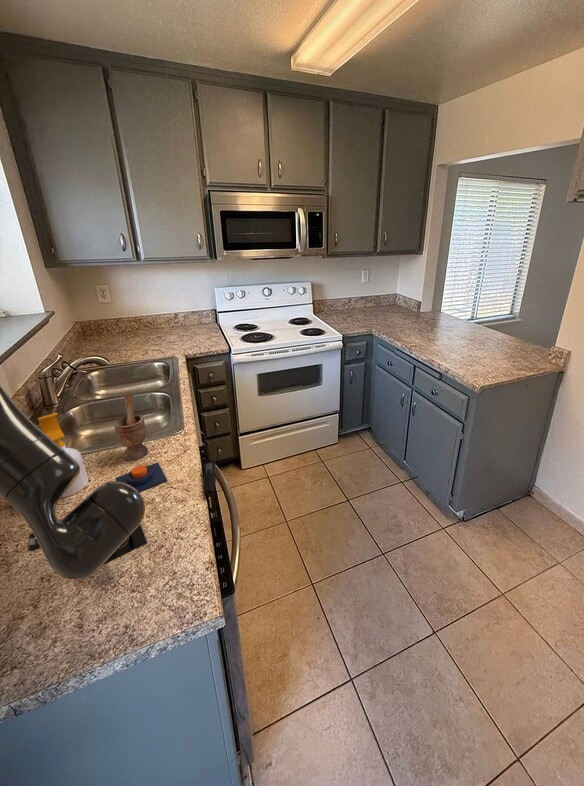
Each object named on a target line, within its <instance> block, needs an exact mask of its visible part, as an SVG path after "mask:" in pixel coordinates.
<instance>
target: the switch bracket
mask: <svg viewBox="0 0 584 786" xmlns="http://www.w3.org/2000/svg"><path fill="white" fill-rule="evenodd" d="M147 544H148V541H147V538H146V536H145V533H144V530H143V527H142V524H140V525H139V526H138V527H137V528H136V529H135V530H134V531H133V533H132V534H131V535H130V536H129V540H128V542H127V544H126V545H125V546H124V547H122V548H118V549H117V550H116V551H115V552H114V553H113V554H112V555H111V556H110V557H109V558H108V559H107V560H106V561H105V563H104V564H103V565H102V566H104V565H106V564H108V563H110V562H112V561H115V560H117V559H119V558H121V557H122V556H125V555H127V554H129V553H131V552H133V551H136V550H137V549H139V548H141V547H144V546H145V545H147Z"/></svg>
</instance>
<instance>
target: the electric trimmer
mask: <svg viewBox="0 0 584 786" xmlns="http://www.w3.org/2000/svg"><path fill="white" fill-rule="evenodd" d="M216 465H217V463H216V461H215V460H214V459H212V458H209V459H206V460H205V461H204V463H203V481H202V482H203V489H204V490H203V491H204V495H211V494H214V493H215V489H216V482H217V478H216V471H215V469H216V468H215V467H216Z"/></svg>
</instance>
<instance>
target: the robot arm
mask: <svg viewBox="0 0 584 786" xmlns="http://www.w3.org/2000/svg"><path fill="white" fill-rule="evenodd" d="M79 473H80V466H79V464H78V463H77V462H76V461H75V460H74V459H73V458H72V457H71V456H70V455H69V454H68V453H66V452H65V451H64V450H63V449H62V448H61V447H60V446H59V445H57V444H56V443H55V442H54V441H53V440H52V439H51V438H49V437H48V436H47V435H46V434H45V433H44V432H43V431H42V430H41V428H40V427H38V426H37V425H36V424H35V423H34V422H33V421H32V420H31V419H30V418H29V417H28V416H27V415H26V414H25V413H24V412H23V411H22V409H20V408H19V407H18V405H17V404H16V402H14V401H13V399H12V398H11V397H10V395H9V394H8V393H7V392H6V391H5V389H4V388H3V387H2V385H1V384H0V497H1V498H3V499H4V500H5V501H6V502H7V503H8V504H9V505H11V506H12V507H13V509H14V510H15V511H16V512H17V513H18V514H19V515H20V516H21V518H23V520H24V521H25V523H26V524H27V525H28V527H29V528H30V530H31V533H29V534H28V541H27V548H26V552H34V551H36V550H39V549H41V552H42V553H43V555H44V557H45V559H46V561H47V562H48V565H49V566H50V567H51V568H52V570H53V571H54V572H55V573H56V574H57V575H59V576H60V577H62V578H64V579H69V580H74V581H77V580H83V579H88V578H89V577H91V576H92V575H94V574H95V573H96V572H97V571H98V570H99V569H100V568H101V567H103V566H104V565H105V564H104V563H105V561H106V560H107V559H108V558H109V557H110V556H111V555H112V554H113V553H114V552H115V551H116V550H117V549H118V547H119V546H120V545H121V544H122V543H123V542H124V541H125V540H126V539H127V538H128V536H130V535H131V534H132V533H133V531H134V530H135V529H136V528H137V527H138V526H139V525H141V523H142V522H143V520H144V517H145V516H146V515H145V514H146V503H145V500H144V498H143V496H142V495H141V492H140V493H139V492H138V491H137V490H136V489H135V488H133V487H132V486H130V485H128V484H126V483H123V482H117V481H116V480H111V481H107V482H104V483H102V484H101V485H99V486H98V487H96V488H95V489H94V490H93V491H92V492H90V494H88V496H86V498H84V499H83V500H82V501H81V502H79V504H77V505H76V506H75V507H74V508H73V509H71V510H70V511H69V512H68V513H67V514H66V515H65V516H64V517H63V518H62V519H60V518H59V517H58V515H57V506H58V504H59V502H60V500H61V497H62V496H63V494H64V493H65V492H66V491H67V490H68V488H69V487H70V486H71V485H72V484H73V482H74V481H75V480H76V478H77V477H78V475H79ZM62 498H63V497H62ZM103 564H104V565H103Z"/></svg>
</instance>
